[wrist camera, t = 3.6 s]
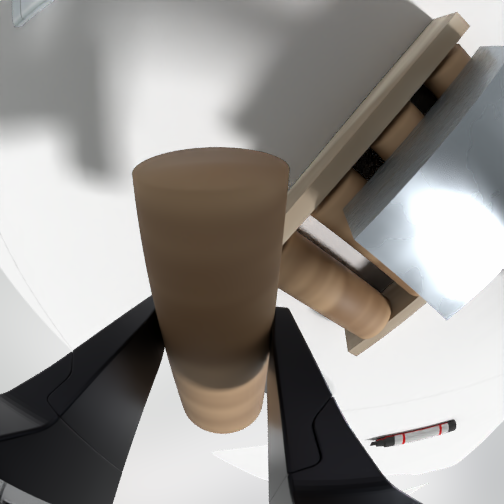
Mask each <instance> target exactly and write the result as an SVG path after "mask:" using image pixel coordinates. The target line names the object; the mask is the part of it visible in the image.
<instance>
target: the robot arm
mask: <svg viewBox="0 0 504 504" xmlns="http://www.w3.org/2000/svg"><path fill="white" fill-rule="evenodd" d="M164 348H165V345H164V341H163V338H162V334H161V330H160V326H159V322H158V318H157V314H156V310H155V305H154V301H153V296H152V295H151V296H150V297H148V298H147V299H145V300H144V301H142V302H141V303H139V304H138V305H137V306H135V307H134V308H132V309H131V310H129V311H128V312H127V313H125V314H124V315H122V316H121V317H119V318H118V319H117V320H115V321H114V322H112V323H111V324H109V325H108V326H107V327H105V328H104V329H102V330H101V331H100V332H98V333H97V334H95V335H94V336H93V337H91V338H90V339H88V340H87V341H86V342H84V343H83V344H81V345H80V346H79V347H77V348H76V349H74V350H73V352H70V353H69V354H67V355H66V356H65V357H63V358H62V359H60V360H59V361H57V362H56V363H54V364H53V365H52V366H50V367H49V368H47V369H45V370H44V371H42V372H40V373H39V374H37V375H36V376H34V377H32V378H30V379H29V380H27V381H25V382H24V383H22V384H20V385H19V386H17V387H15V388H13V389H12V390H10V391H8V392H6V393H3V394H0V504H113V500H114V497H115V494H116V491H117V488H118V484H119V481H120V478H121V475H122V471H123V468H124V465H125V462H126V459H127V456H128V453H129V450H130V447H131V444H132V441H133V438H134V435H135V432H136V429H137V426H138V424H139V421H140V418H141V415H142V412H143V409H144V407H145V404H146V401H147V398H148V396H149V393H150V390H151V388H152V385H153V382H154V379H155V377H156V374H157V371H158V369H159V366H160V363H161V360H162V356H163V352H164ZM267 404H268V405H267V408H268V409H267V410H268V466H269V504H422V503H421V502H419V501H417V500H416V499H414V498H412V497H410V496H409V495H407V494H405V493H404V492H402V491H401V490H399V489H398V488H396V487H395V486H394V485H392V484H391V483H390V482H389V481H388V480H387V479H386V478H385V476H384V475H383V474H382V473H381V471H380V470H379V468H378V467H377V466H376V464H375V463H374V461H373V460H372V458H371V457H370V456H369V454H368V453H367V451H366V450H365V448H364V447H363V446H362V444H361V443H360V441H359V440H358V438H357V437H356V435H355V434H354V432H353V431H352V429H351V428H350V426H349V424H348V423H347V421H346V419H345V417H344V416H343V414H342V412H341V410H340V408H339V406H338V404H337V402H336V400H335V398H334V397H332V393H331V391H330V389H329V387H328V385H327V383H326V381H325V379H324V377H323V375H322V373H321V371H320V369H319V367H318V365H317V363H316V361H315V359H314V357H313V355H312V353H311V351H310V349H309V347H308V345H307V343H306V341H305V339H304V337H303V335H302V333H301V332H300V330H299V328H298V326H297V324H296V322H295V320H294V318H293V316H292V314H291V312H290V310H289V309H288V308H285V307H275V315H274V320H273V325H272V334H271V343H270V352H269V361H268V370H267Z"/></svg>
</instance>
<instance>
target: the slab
mask: <svg viewBox="0 0 504 504" xmlns="http://www.w3.org/2000/svg"><path fill="white" fill-rule="evenodd" d="M343 212H344V214H345V217H346V220H347V222H348V225H349V227H350V230H351V233H352V235H353V238H354V240H355V241H356V242H358V243H359V244H360V245H361V246H362V247H364V248H365V249H366V250H367V251H369V252H370V253H371V254H372V255H373V256H375V257H376V258H377V259H378V260H379V261H381V262H382V263H383V264H384V265H385V266H387V267H388V268H389V269H390V270H391V271H392V272H394V273H395V274H396V275H397V276H398V277H399V278H401V279H402V280H403V281H404V282H405V283H406V284H407V285H409V286H410V287H411V288H412V289H413V290H414V291H415V292H417V293H418V294H419V295H420V296H421V297H422V298H423V299H424V300H425V301H426V302H428V303H429V304H430V305H431V306H432V307H433V308H434V309H435V310H436V311H437V312H438V313H439V314H441V315H442V316H443V317H444V318H445V319H446V320H448V319H449V318H450V317H452V316H453V315H454V314H455V313H456V312H457V311H459V310H460V309H461V308H462V307H463V306H464V305H465V304H467V303H468V302H469V301H470V300H471V299H472V298H473V297H474V296H475V295H476V294H477V293H479V292H480V291H481V290H482V289H483V288H484V287H485V286H486V285H487V284H488V283H489V282H490V281H491V280H492V279H493V278H494V277H495V276H496V275H497V274H498V273H499V272H500V271H501V270H502V269H503V268H504V46H483V47H479V49H478V50H477V51H476V53H475V54H474V55H473V56H472V58H471V59H470V60H469V62H468V63H467V64H466V65H465V67H464V68H463V69H462V71H461V72H460V73H459V74H458V76H457V77H456V78H455V79H454V81H453V82H452V83H451V84H450V86H449V87H448V88H447V89H446V91H445V92H444V93H443V94H442V95H441V97H440V98H439V99H438V100H437V102H436V103H435V104H434V105H433V106H432V108H431V109H430V110H429V111H428V112H427V114H426V115H425V116H424V117H423V118H422V120H421V121H420V122H419V123H418V124H417V126H416V127H415V128H414V129H413V130H412V131H411V133H410V134H409V135H408V136H407V137H406V138H405V140H404V141H403V142H402V143H401V144H400V145H399V147H398V148H397V149H396V150H395V151H394V152H393V153H392V155H391V156H390V157H389V158H388V159H387V160H386V161H385V163H384V164H383V165H382V166H381V167H380V168H379V169H378V170H377V172H376V173H375V174H374V175H373V176H372V177H371V178H370V179H369V181H368V182H367V183H366V184H365V185H364V186H363V187H362V188H361V190H360V191H359V192H358V193H357V194H356V195H355V196H354V197H353V198H352V199H351V201H350V202H349V203H348V204H347V205H346V206H345V207H344V208H343Z"/></svg>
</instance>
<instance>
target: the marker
mask: <svg viewBox="0 0 504 504" xmlns="http://www.w3.org/2000/svg"><path fill="white" fill-rule="evenodd" d="M455 429H456V422H455V420H453V421H450V422H446V423H443V424H439V425H435V426H431V427H427V428H423V429H419V430H415V431H410V432H406V433H401V434H396V435H391V436H386V437H384V438H382V439H378V440H376V442H372V443H371V445H370V446H372V445H376V447H377V446H384V447H389V446H395V445H400V444H405V443H410V442H414V441H418V440H422V439H426V438H430V437H434V436H437V435H441V434H444V433H447V432H450V431H454V430H455Z"/></svg>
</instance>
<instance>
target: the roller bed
mask: <svg viewBox="0 0 504 504" xmlns="http://www.w3.org/2000/svg"><path fill="white" fill-rule="evenodd" d="M469 27H470V26H469V25H468V23H467V22H466V21H465V20H464V19H463V18H462V17H461V16H460V15H459V14H458V12H456V13H452V14H449V15H446V16H443V17H439V18H436V19H433V20H432V22H431V23H430V24H429V25H428V26H427V27H426V29H425V30H424V31H423V32H422V33H421V34H420V35H419V37H418V38H417V39H416V40H415V41H414V42H413V44H412V45H411V46H410V47H409V48H408V49H407V51H406V52H405V53H404V54H403V55H402V56H401V58H400V59H399V60H398V61H397V62H396V63H395V65H394V66H393V67H392V68H391V69H390V70H389V72H388V73H387V74H386V75H385V76H384V77H383V79H382V80H381V81H380V82H379V83H378V84H377V86H376V87H375V88H374V89H373V90H372V92H371V93H370V94H369V95H368V96H367V97H366V99H365V100H364V101H363V102H362V103H361V105H360V106H359V107H358V108H357V109H356V110H355V112H354V113H353V114H352V115H351V116H350V118H349V119H348V120H347V121H346V122H345V124H344V125H343V126H342V127H341V128H340V130H339V131H338V132H337V133H336V134H335V135H334V137H333V138H332V139H331V140H330V141H329V143H328V144H327V145H326V146H325V147H324V149H323V150H322V151H321V152H320V153H319V155H318V156H317V157H316V158H315V159H314V161H313V162H312V163H311V164H310V166H309V167H308V168H307V169H306V170H305V172H304V173H303V174H302V175H301V176H300V178H299V179H298V180H297V181H296V182H295V184H294V185H293V186H292V187H291V188H290V190H289V191H288V192H287V203H286V214H285V224H284V234H283V244H282V253H281V263H280V272H279V281H278V288H279V289H281V290H282V291H284V292H286V293H287V294H289V295H291V296H292V297H294V298H295V299H297V300H299V301H300V302H302V303H304V304H305V305H307V306H309V307H310V308H312V309H313V310H315V311H317V312H318V313H320V314H322V315H323V316H325V317H327V318H328V319H330V320H332V321H333V322H335V323H336V324H338V325H340V326H341V327H343V328H345V335H346V341H347V348H348V352H350V353H351V354H353V355H355V356H357V355H359V354H360V353H362V352H363V351H365V350H366V349H367V348H369V347H370V346H372V345H373V344H374V343H376V342H377V341H379V340H380V339H381V338H383V337H384V336H385V335H387V334H388V333H389V332H391V331H392V330H393V329H394V328H396V327H397V326H398V325H400V324H401V323H402V322H403V321H405V320H406V319H407V318H408V317H410V316H411V315H412V314H413V313H415V312H416V311H417V310H418V309H419V308H421V307H422V306H423V305H424V304H425V303H426V301H425V300H424V299H423V298H422V297H421V296H420V295H419V294H418V293H417V292H415V291H414V290H413V289H412V288H411V287H410V286H409V285H407V284H406V283H405V282H404V281H403V280H402V279H401V278H399V277H398V276H397V275H396V274H395V273H394V272H392V271H391V270H390V269H389V268H388V267H387V266H385V265H384V264H383V263H382V262H381V261H379V260H378V259H377V258H376V257H375V256H373V255H372V254H371V253H370V252H369V251H367V250H366V249H365V248H364V247H362V246H361V245H360V244H359V243H358V242H356V241H355V240H354V238H353V235H352V233H351V230H350V227H349V225H348V222H347V220H346V217H345V214H344V212H343V208H344V207H345V206H346V205H347V204H348V203H349V202H350V201H351V199H352V198H353V197H354V196H355V195H356V194H357V193H358V192H359V191H360V190H361V188H362V187H363V186H364V185H365V184H366V183H367V182H368V181H367V180H366V179H365V178H364V177H363V176H362V175H360V174H359V173H358V172H357V171H356V170H355V169H353V168H352V166H353V165H354V164H355V163H356V162H357V160H358V159H359V158H360V157H361V156H362V155H363V154H364V152H365V151H366V150H367V149H368V148H369V147H370V148H371V149H373V150H374V151H375V152H376V153H377V154H378V155H379V156H380V157H381V158H382V159H383V160H384V161H386V160H387V159H388V158H389V157H390V156H391V155H392V153H393V152H394V151H395V150H396V149H397V148H398V147H399V145H400V144H401V143H402V142H403V141H404V140H405V138H406V137H407V136H408V135H409V134H410V133H411V131H412V130H413V129H414V128H415V127H416V126H417V124H418V123H419V122H420V121H421V120H422V118H423V117H424V115H423V114H422V113H421V112H420V111H419V109H418V108H417V107H416V106H415V105H414V104H413V103H412V102H411V101H410V99H411V97H412V96H413V95H414V94H415V93H416V91H417V90H418V89H419V88H420V87H421V85H422V84H424V85H425V86H426V87H427V88H428V89H429V90H430V91H431V93H432V94H433V95H434V96H435V97H436V98H437V99H439V98H440V97H441V95H442V94H443V93H444V92H445V91H446V89H447V88H448V87H449V86H450V84H451V83H452V82H453V81H454V79H455V78H456V77H457V76H458V74H459V73H460V72H461V71H462V69H463V68H464V67H465V65H466V64H467V63H468V62H469V60H470V59H471V58H470V56H469V55H468V54H467V53H466V51H465V50H464V49H463V48H462V47H461V46H460V45H459V44H456V43H457V42H458V40H459V39H460V38H461V37H462V35H463V34H464V33H465V32H466V30H467V29H468V28H469ZM309 215H311V216H313V217H314V218H315V219H317V220H318V221H319V222H321V223H322V224H323V225H325V226H326V227H327V228H328V229H330V230H331V231H332V232H334V233H335V234H336V235H338V236H339V237H340V238H342V239H343V240H344V241H345V242H347V243H348V244H349V245H351V246H352V247H353V248H354V249H356V250H357V251H358V252H359V253H361V254H362V255H363V256H364V257H366V258H367V259H368V260H369V261H371V262H372V263H373V264H374V265H376V266H377V267H378V268H379V269H380V270H382V271H383V272H384V273H385V274H387V275H388V276H389V277H390V278H391V279H393V280H394V282H393V283H392V284H391V285H389V286H388V287H387V288H386V289H385V290H384V291H383V292H381V293H380V292H379V291H378V290H376V289H375V288H374V287H372V286H371V285H370V284H368V283H367V282H366V281H364V280H363V279H362V278H360V277H359V276H358V275H356V274H355V273H354V272H352V271H351V270H350V269H348V268H347V267H346V266H344V265H343V264H342V263H340V262H339V261H338V260H336V259H335V258H333V257H332V256H331V255H329V254H328V253H327V252H325V251H324V250H322V249H321V248H320V247H318V246H317V245H315V244H314V243H313V242H311V241H310V240H309V239H307V238H306V237H304V236H303V235H301V234H300V233H299V232H297V231H296V230H297V229H298V227H299V226H300V225H301V224H302V223H303V222H304V221H305V220H306V218H307V217H308V216H309Z"/></svg>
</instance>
